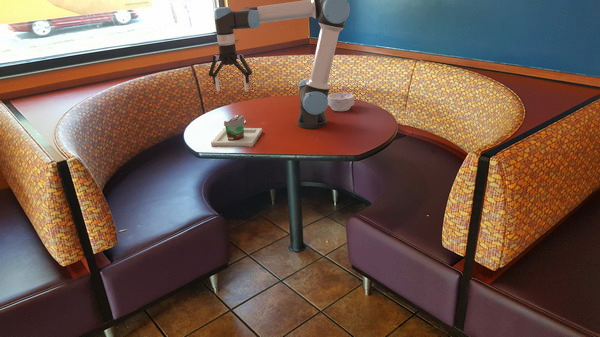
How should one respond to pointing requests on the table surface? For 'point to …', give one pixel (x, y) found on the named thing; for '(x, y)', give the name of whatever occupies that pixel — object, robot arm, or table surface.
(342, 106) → the paper bowls
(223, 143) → the white square tray
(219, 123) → the table surface
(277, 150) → the table surface
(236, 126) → the food container
